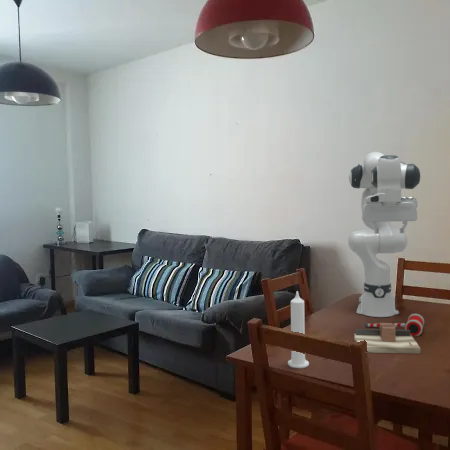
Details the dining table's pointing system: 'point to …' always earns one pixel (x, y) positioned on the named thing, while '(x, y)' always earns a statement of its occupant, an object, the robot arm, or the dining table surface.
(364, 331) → the board
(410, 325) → the toy hammer
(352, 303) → the dining table surface
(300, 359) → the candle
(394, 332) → the brown cardboard brick
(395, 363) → the dining table surface
